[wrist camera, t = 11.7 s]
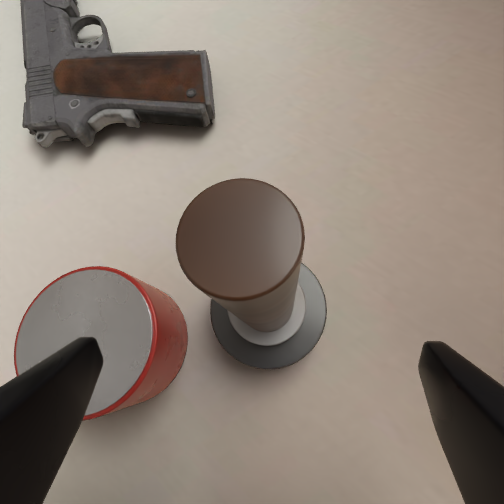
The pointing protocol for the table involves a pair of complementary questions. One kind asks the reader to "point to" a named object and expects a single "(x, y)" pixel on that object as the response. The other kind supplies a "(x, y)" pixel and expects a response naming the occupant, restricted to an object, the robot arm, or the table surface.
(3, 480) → the robot arm
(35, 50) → the handgun
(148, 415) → the table surface
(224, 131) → the table surface
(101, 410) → the tin
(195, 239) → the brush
